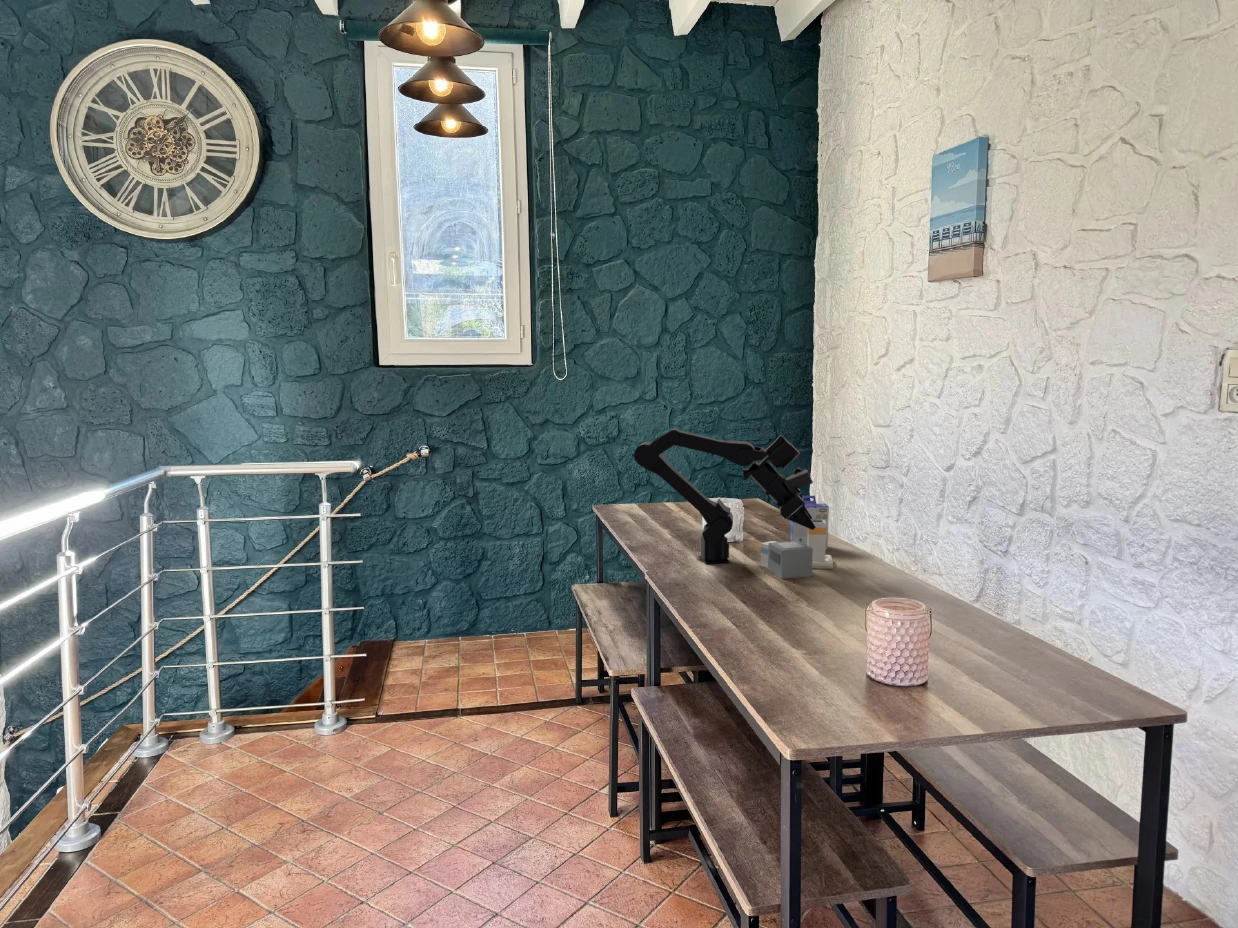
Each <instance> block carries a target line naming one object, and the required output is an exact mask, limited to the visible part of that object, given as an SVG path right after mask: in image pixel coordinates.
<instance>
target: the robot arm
mask: <svg viewBox="0 0 1238 928" xmlns="http://www.w3.org/2000/svg"><path fill="white" fill-rule="evenodd" d="M673 446H677V447H681V448H685V449H690V450H695V451H698V452H702V453H707V454H711V455H716V456H718V457H721V458H722V459H725V460H726V461H729V462H730V463H733V464H735V465H738V466H740V467H748V466H749V465H750V466H749V467H748V468H742V474H743V475H742V480H743V481H747V479H748V478H750V477H751V478H752V479H753V480H754V481H755V482H756V484H758V485H759V486H760V488H761V489H763V492H764V493H765V494H766V496H769V497H770V498H771V499H772V500H773V502H775V503H776V505H777V507H779V514H780V515H781V517H783V518H784V520H788V521H790V522H791V521H793V522H795V523H797V524H800V525H802V526H805V527H807V528H809V529H811V530H814V529H815V528H816V527H815V525H814V523H813V522H812V520H811V519H812V517H811V515H810V513H809V512H808V510H807V509H806V507H805V502H804V500H805V499H804V500H803V499H802V496H803V494H802V491H801V489H800V488H802V487H805V486H810V485H812V484H813V483H814V482H813V479H812V477H811V475H810V473H809V471H808V469H802V468H800V467H797V468H795V469H793V474H791V475H790V476H788V477H786V476H785V475H784V474H780V473H779V472H778V471H777V470H776V469H775V468H777V469H780V468H783V469H785V468H786V467H787V466H788V465H790V464H791V462H793V461H794V460H795V459H796V458H797V457H799V455H800V454H801V452H800V451H799V450H798V449H797V448H796V447H795V446H794V444H792V443H791V442H790V441H789V440H787V439H786V438H785V437H784V436H783V435H782V434H780V435H779V436H778V437H776V439H775V440H774V441H773V442H772V443H771V444H770V445H769V446H768V447H767V448H765V447H760V446H754V445H753V443H751V442H750V441H746V440H722V439H717V438H714V437H710V436H704V435H700V434H696V433H691V432H688V431H684V430H680V429H678V428H671V429H669V430H668V431H667V432H666V433H663V435H661V436H659V437H657V438H656V439H654V440H652V441H644V442H641V444H639V445H638V446H637V447H636V448H635V450H634V452H633V458H634V461H635V463H636V464H638V465H639V466H640V467H642V468H644V469H645V470H647V471H648V472H650V473H653V474H655V475H656V476H658V477H660V478H661V479H662V480H663V481H664V482H666V484H668V485H669V486H670V487H671V488H672V489H674V491H676V492H677V493H678V494H679V495H680V496H681V497H682V498H683V499H684V500H686V501H687V502H688V503H689V504H690V505H691V506H692V507H693V508H694V509H695V510H697V511H698V512H699V514H700V515H701V517H702V518H703V519H704V521H705V522H706V524H704V526H703V529H702V533H701V535H702V536H700V555H698V559H699V560H701V561H702V562H703V563H704V564H706V565H710V564H711V565H712V564H723V563H730V543H729V542H728V537H727V536H725V535H726V534H728V533H729V532H731V530H732V529H733V526H734V515H733V513H732V512H731V510H732V509H731V507H728V506H727V505H726V504H724V502H723V501H722V500H721V499H720V498H719V499H717V501H713V500H712V499H710V498H709V497H707V496H706V495H705V494H704V493H703V492H701V490H699V488H697V487H696V486H695V485H694V484H693V483H692V482H690V481H689V480H688V479H687V478H686V477H685V476H683V474H681V473H680V472H679V471H678V470H677V469H676V468H675V467H674V466H672V465H671V463H669V461H668V459H667V458H666V456H665V455H664V452H666V451H668V450H669V449H671V448H672V447H673ZM757 461H759V462H757ZM768 461H769V462H768ZM771 464H772V465H771ZM774 467H775V468H774Z"/></svg>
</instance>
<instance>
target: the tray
mask: <svg viewBox="0 0 1238 928" xmlns="http://www.w3.org/2000/svg"><path fill="white" fill-rule="evenodd" d="M812 569H822V570H823V569H826V570H828V569H829V570H834V562H833V559H832V555H831V554H825V562H812Z"/></svg>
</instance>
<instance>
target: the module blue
mask: <svg viewBox="0 0 1238 928" xmlns="http://www.w3.org/2000/svg"><path fill="white" fill-rule="evenodd" d="M774 542H777V541H775V540H770V541H765V542H760V567H762V568H763V567H764V568H766V569H768V548H769V543H774Z"/></svg>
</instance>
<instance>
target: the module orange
mask: <svg viewBox="0 0 1238 928" xmlns="http://www.w3.org/2000/svg"><path fill="white" fill-rule="evenodd" d="M811 520H812V522H813V523H814V525H815V527H816V528H815V529H814V530H811V529H809V528H807V531H808V536H807V546H809V547H811V548H813V557H812V562H825V555H826V550H825V548H826V521H825V520H822V518H812V519H811Z"/></svg>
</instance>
